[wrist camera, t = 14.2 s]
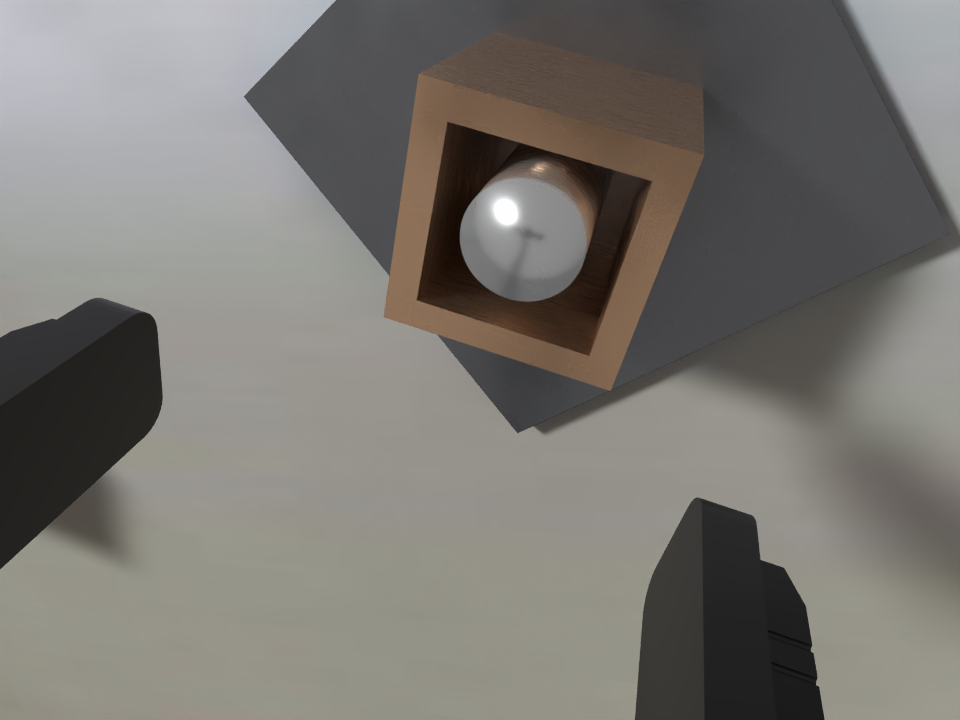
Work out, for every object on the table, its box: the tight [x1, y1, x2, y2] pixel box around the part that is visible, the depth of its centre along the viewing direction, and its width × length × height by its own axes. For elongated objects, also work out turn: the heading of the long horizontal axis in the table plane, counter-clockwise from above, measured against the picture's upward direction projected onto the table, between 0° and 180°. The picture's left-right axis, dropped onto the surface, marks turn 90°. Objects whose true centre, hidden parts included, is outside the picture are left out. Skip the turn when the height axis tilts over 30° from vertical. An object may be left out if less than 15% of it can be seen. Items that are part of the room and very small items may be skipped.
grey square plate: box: [244, 0, 950, 433], centre depth 19 cm, size 16×16×8 cm
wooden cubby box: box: [384, 31, 704, 391], centre depth 19 cm, size 6×6×7 cm
